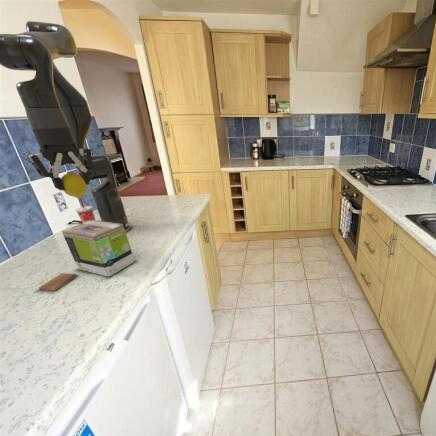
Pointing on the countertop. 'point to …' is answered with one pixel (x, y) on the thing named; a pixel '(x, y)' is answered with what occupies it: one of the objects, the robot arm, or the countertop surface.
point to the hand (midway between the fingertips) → (74, 186)
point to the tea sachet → (57, 282)
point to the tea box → (99, 247)
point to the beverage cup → (85, 213)
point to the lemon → (74, 184)
